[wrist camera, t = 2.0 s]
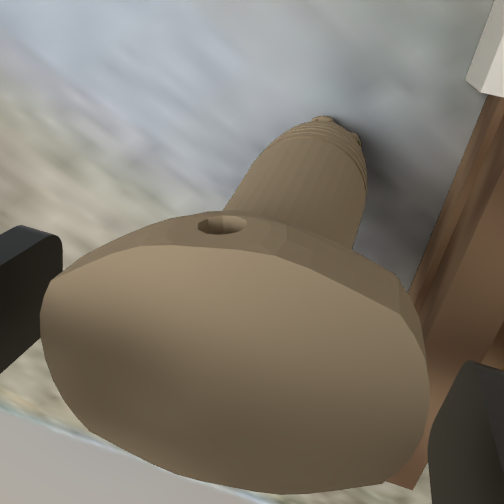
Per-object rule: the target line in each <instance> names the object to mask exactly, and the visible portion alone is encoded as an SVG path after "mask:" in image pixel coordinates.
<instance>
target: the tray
mask: <svg viewBox="0 0 504 504" xmlns="http://www.w3.org/2000/svg"><path fill="white" fill-rule="evenodd" d="M465 80H466V81H467V82H468V83H469V84H471V85H472V86H473V87H474V88H476V89H477V90H478V91H479V92H481V93H485V94H490V95H494V96H499V97H504V0H495V1H494V3H493V6H492V9H491V11H490V14H489V17H488V19H487V22H486V25H485V27H484V30H483V33H482V35H481V38H480V41H479V43H478V46H477V49H476V51H475V54H474V57H473V59H472V62H471V65H470V67H469V70H468V73H467V75H466V78H465Z"/></svg>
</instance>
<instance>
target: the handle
mask: <svg viewBox="0 0 504 504" xmlns="http://www.w3.org/2000/svg"><path fill="white" fill-rule="evenodd" d="M361 147H362V145H361V141H360V139H359V137H358V135H357V134H356V133H355V132H349V131H347V130H346V129H344V128H343V127H341V126H340V125H337V124H336V123H335V122H334V121H333V118H332V117H329V116H318V117H315V118H313V119H312V121H311V122H307V123H303V124H300V125H298V126H295V127H293V128H292V129H290V130H288V131H287V132H285V133H284V134H282V135H281V136H279V137H278V138H277V139H275V140H274V141H273V142H272V143H271V144H270V145H269V146H268V147H267V148H266V149H265V150H264V151H263V152H262V153H261V154H260V155H259V157H258V158H257V159H256V160H255V161H254V163H253V164H252V166H251V167H250V169H249V171H248V172H247V174H246V175H245V177H244V178H243V180H242V182H241V183H240V185H239V186H238V188H237V190H236V191H235V193H234V194H233V196H232V198H231V199H230V201H229V202H228V203H227V205H226V206H225V208H224V209H223V211H213V212H204V213H199V214H194V215H189V216H182V217H176V218H170V219H167V220H164V221H161V222H158V223H155V224H151V225H149V226H146V227H144V228H141V229H139V230H136V231H134V232H131V233H129V234H126V235H124V236H122V237H120V238H118V239H116V240H114V241H111V242H109V243H107V244H105V245H103V246H101V247H99V248H97V249H95V250H93V251H91V252H89V253H88V254H86V255H84V256H83V257H81V258H80V259H78V260H77V261H76V262H74V263H73V264H72V265H70V266H69V267H68V268H66V269H65V270H64V271H63V272H61V273H60V274H59V275H57V276H56V277H55V278H54V279H52V280H51V281H50V283H49V286H48V288H47V290H46V293H45V295H44V298H43V302H42V307H41V311H40V336H41V341H42V345H43V350H44V355H45V359H46V362H47V365H48V367H49V370H50V373H51V376H52V378H53V381H54V383H55V385H56V387H57V389H58V390H59V392H60V394H61V396H62V398H63V400H64V401H65V403H66V404H67V405H68V407H69V408H70V409H71V411H72V412H73V413H74V414H75V416H76V417H77V418H78V419H79V420H80V421H81V422H82V423H83V425H84V426H85V427H86V428H87V429H88V430H89V431H90V432H92V433H94V434H96V435H98V436H100V437H101V438H103V439H105V440H107V441H109V442H111V443H113V444H115V445H116V446H118V447H120V448H122V449H124V450H126V451H128V452H130V453H132V454H134V455H136V456H138V457H140V458H141V459H143V460H145V461H147V462H149V463H151V464H153V465H156V466H158V467H160V468H163V469H165V470H168V471H170V472H172V473H175V474H177V475H181V476H185V477H188V478H192V479H196V480H199V481H204V482H209V483H214V484H219V485H224V486H229V487H234V488H239V489H245V490H250V491H255V492H263V493H272V494H280V495H285V494H310V493H318V492H326V491H335V490H342V489H349V488H356V487H363V486H370V485H377V484H382V483H384V482H385V481H386V480H388V479H389V478H390V477H392V476H393V475H394V474H396V473H397V472H398V471H399V470H400V469H401V468H402V467H403V466H404V465H405V464H406V463H407V462H408V461H409V460H410V459H411V457H412V456H413V454H414V452H415V450H416V448H417V446H418V444H419V443H420V441H421V439H422V436H423V432H424V429H425V425H426V421H427V417H428V414H429V394H430V382H429V374H428V365H427V358H426V351H425V345H424V339H423V334H422V328H421V322H420V319H419V316H418V314H417V312H416V310H415V307H414V305H413V303H412V301H411V299H410V297H409V295H408V293H407V292H406V290H405V289H404V287H403V286H402V284H401V283H400V281H399V280H398V278H397V277H396V275H395V274H393V273H392V272H390V271H388V270H386V269H385V268H383V267H381V266H380V265H378V264H376V263H375V262H373V261H371V260H369V259H367V258H366V257H364V256H362V255H360V254H358V253H356V252H355V251H353V250H352V247H353V244H354V241H355V237H356V234H357V231H358V228H359V225H360V222H361V218H362V215H363V212H364V208H365V202H366V195H367V169H366V164H365V159H364V156H363V153H362V150H361Z"/></svg>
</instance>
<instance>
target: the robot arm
mask: <svg viewBox="0 0 504 504" xmlns="http://www.w3.org/2000/svg"><path fill="white" fill-rule="evenodd" d="M61 272H63V249H62V242H61V240H60V238H59V237H58V236H56V235H53V234H50V233H47V232H43V231H40V230H36V229H33V228H30V227H26V226H23V225H19V226H16V227H14V228H12V229H10V230H8V231H6V232H4V233H3V234H1V235H0V374H1V373H2V372H3V371H4V370H5V369H6V368H7V367H8V366H10V365H11V364H12V363H13V362H14V361H15V360H16V359H17V358H18V357H19V356H21V355H22V354H23V353H24V352H25V351H26V350H27V349H28V348H29V347H31V346H32V345H33V344H34V343H35V342H36V341H37V340H38V339H39V338H41V336H40V311H41V307H42V302H43V298H44V295H45V293H46V290H47V288H48V286H49V283H50V281H51V280H52V279H54V278H55V277H56V276H57V275H59V274H60V273H61ZM427 454H428V465H429V476H430V486H431V496H432V504H504V370H501V369H498V368H494V367H491V366H487V365H484V364H481V363H477V362H474V361H471V360H469V361H466V362H465V363H464V364H463V365H462V367H461V369H460V370H459V372H458V374H457V376H456V378H455V380H454V382H453V384H452V386H451V388H450V390H449V392H448V394H447V396H446V398H445V400H444V402H443V404H442V406H441V408H440V410H439V412H438V414H437V415H436V417H435V420H434V422H433V424H432V427H431V431H430V435H429V440H428V452H427Z"/></svg>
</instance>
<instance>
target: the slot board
mask: <svg viewBox="0 0 504 504" xmlns="http://www.w3.org/2000/svg"><path fill="white" fill-rule="evenodd" d="M408 295H409V297H410V299H411V301H412V303H413V305H414V307H415V310H416V312H417V314H418V316H419V319H420V322H421V328H422V334H423V339H424V345H425V351H426V358H427V365H428V374H429V382H430V394H429V414H428V417H427V421H426V425H425V429H424V432H423V436H422V439H421V441H420V443H419V444H418V446H417V448H416V450H415V452H414V454H413V456H412V457H411V459H410V460H409V461H408V462H407V463H406V464H405V465H404V466H403V467H402V468H401V469H400V470H399V471H398V472H397V473H396V474H394V475H393V476H392V477H390V478H389V479H388V480H386V481H387V482H390V483H393V484H396V485H399V486H402V487H405V488H408V489H411V490H413V489H414V487H415V485H416V483H417V481H418V479H419V477H420V476H421V474H422V472H423V470H424V468H425V466H426V464H427V463H428V454H427V452H428V440H429V435H430V431H431V427H432V424H433V422H434V420H435V417H436V415H437V414H438V412H439V410H440V408H441V406H442V404H443V402H444V400H445V398H446V396H447V394H448V392H449V390H450V388H451V386H452V384H453V382H454V380H455V378H456V376H457V374H458V372H459V370H460V369H461V367H462V365H463V364H464V363H465V362H466V361H469V360H471V361H474V362H477V363H481V364H484V365H487V366H491V367H494V368H498V369H501V370H502V369H503V367H504V97H499V96H494V95H490V94H488V96H487V98H486V101H485V103H484V106H483V108H482V111H481V113H480V116H479V118H478V121H477V123H476V126H475V128H474V131H473V133H472V135H471V138H470V140H469V143H468V145H467V148H466V150H465V153H464V155H463V158H462V160H461V163H460V165H459V168H458V170H457V173H456V175H455V178H454V180H453V183H452V185H451V188H450V190H449V193H448V195H447V197H446V200H445V202H444V205H443V207H442V210H441V212H440V215H439V217H438V220H437V222H436V225H435V227H434V230H433V232H432V235H431V237H430V240H429V242H428V245H427V247H426V250H425V252H424V255H423V257H422V260H421V262H420V264H419V267H418V269H417V272H416V274H415V277H414V279H413V282H412V284H411V287H410V289H409V292H408Z"/></svg>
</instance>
